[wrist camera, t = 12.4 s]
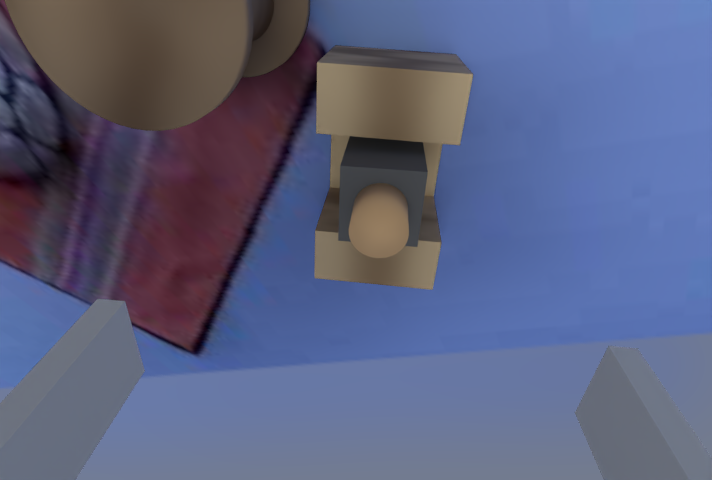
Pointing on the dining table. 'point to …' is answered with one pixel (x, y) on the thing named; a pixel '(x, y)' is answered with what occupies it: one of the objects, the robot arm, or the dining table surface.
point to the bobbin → (157, 52)
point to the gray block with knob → (381, 195)
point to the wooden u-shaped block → (387, 121)
